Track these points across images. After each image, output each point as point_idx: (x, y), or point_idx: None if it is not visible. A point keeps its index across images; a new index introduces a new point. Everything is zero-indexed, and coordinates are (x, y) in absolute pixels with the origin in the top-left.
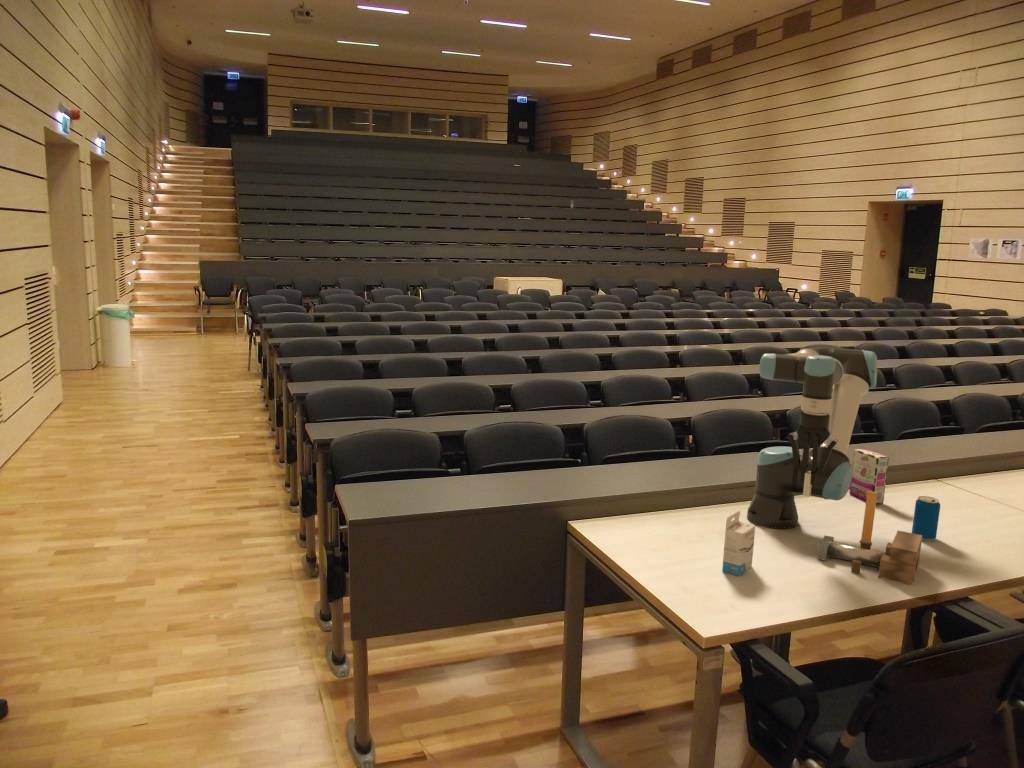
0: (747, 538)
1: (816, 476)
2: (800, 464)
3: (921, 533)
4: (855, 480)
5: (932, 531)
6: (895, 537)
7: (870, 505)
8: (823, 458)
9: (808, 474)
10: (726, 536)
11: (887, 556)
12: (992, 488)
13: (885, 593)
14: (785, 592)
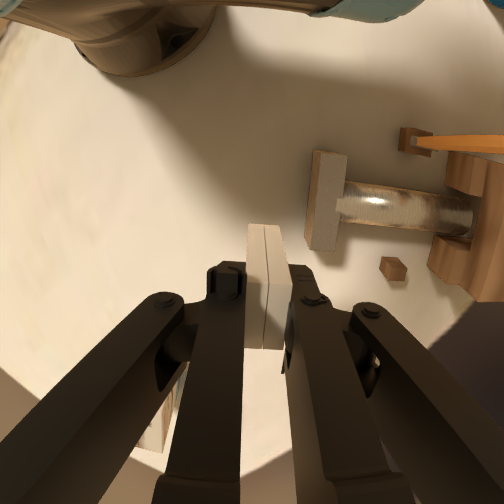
0: (166, 427)
1: (318, 290)
2: (182, 337)
3: (499, 2)
4: None
5: None
6: (501, 230)
7: (495, 149)
8: (395, 451)
9: (266, 345)
10: None
11: (462, 258)
12: None
13: (424, 328)
14: (263, 405)
